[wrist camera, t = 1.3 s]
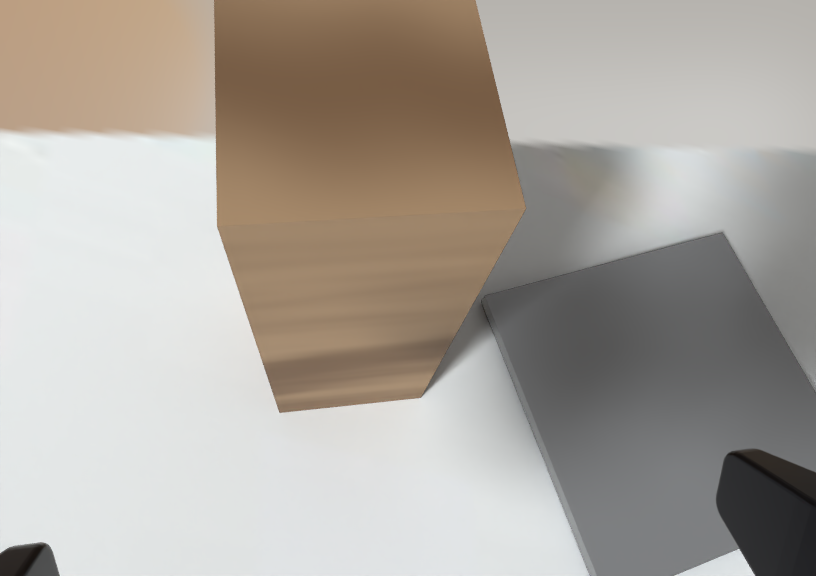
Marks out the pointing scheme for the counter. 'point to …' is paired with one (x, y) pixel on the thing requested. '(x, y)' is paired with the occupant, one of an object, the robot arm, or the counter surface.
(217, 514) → the counter surface
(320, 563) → the counter surface
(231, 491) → the counter surface
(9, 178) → the counter surface
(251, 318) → the block
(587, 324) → the coaster
